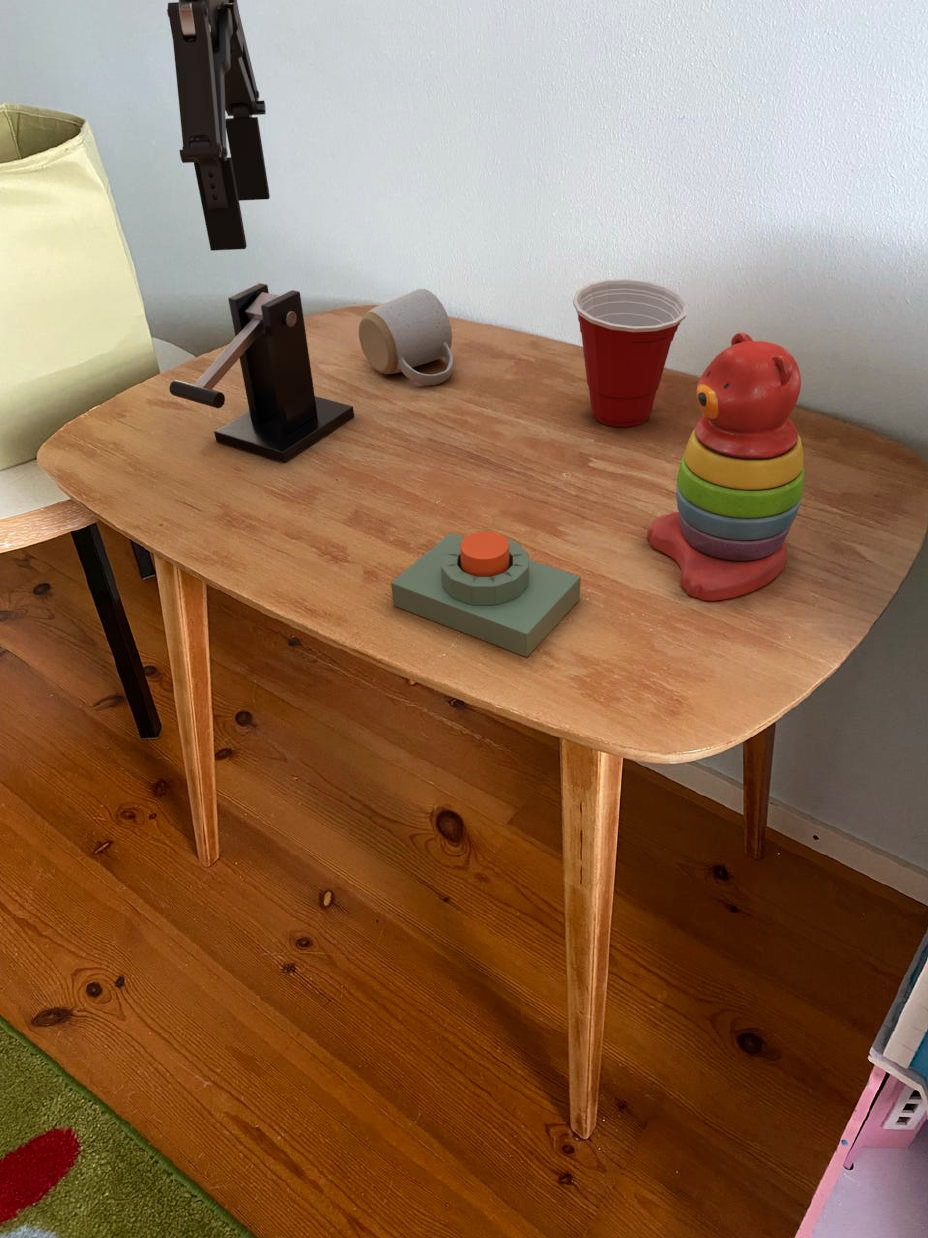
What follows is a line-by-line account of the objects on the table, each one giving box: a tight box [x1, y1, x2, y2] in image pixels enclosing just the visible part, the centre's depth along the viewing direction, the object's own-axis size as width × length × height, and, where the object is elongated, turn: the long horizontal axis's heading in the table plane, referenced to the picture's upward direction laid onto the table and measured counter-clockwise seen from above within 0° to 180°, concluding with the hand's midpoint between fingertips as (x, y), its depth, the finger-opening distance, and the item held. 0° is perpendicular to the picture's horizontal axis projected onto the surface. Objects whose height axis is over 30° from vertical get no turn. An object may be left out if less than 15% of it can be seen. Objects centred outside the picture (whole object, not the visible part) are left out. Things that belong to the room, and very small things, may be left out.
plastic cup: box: [572, 278, 690, 428], centre depth 96 cm, size 11×11×12 cm
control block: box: [390, 532, 582, 658], centre depth 75 cm, size 12×8×4 cm, turn 56°
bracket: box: [213, 282, 355, 464], centre depth 95 cm, size 11×9×14 cm
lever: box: [168, 292, 280, 409], centre depth 90 cm, size 13×6×2 cm, turn 148°
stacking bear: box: [646, 332, 805, 601], centre depth 74 cm, size 11×10×18 cm
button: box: [460, 531, 509, 577], centre depth 73 cm, size 4×4×2 cm
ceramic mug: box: [358, 288, 454, 386], centre depth 107 cm, size 11×8×8 cm
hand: (242, 222), depth 82 cm, fingers open, 13 cm apart
